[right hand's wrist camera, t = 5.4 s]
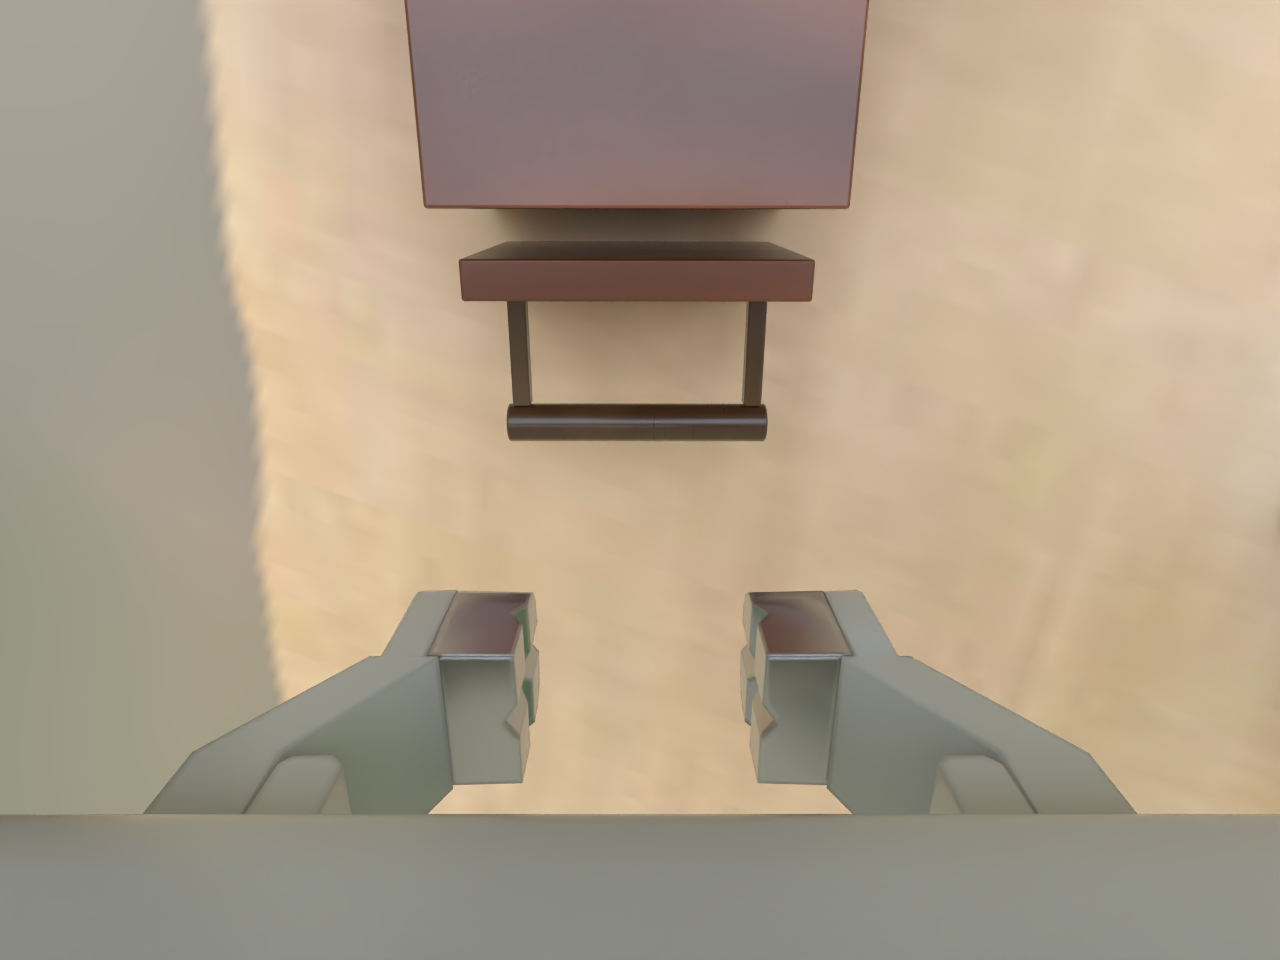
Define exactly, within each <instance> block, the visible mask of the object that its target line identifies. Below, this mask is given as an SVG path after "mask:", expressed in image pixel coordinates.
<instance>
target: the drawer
mask: <svg viewBox="0 0 1280 960" xmlns="http://www.w3.org/2000/svg"><path fill="white" fill-rule="evenodd" d="M814 268H815V261H814V260H812V259H810V258H807V257H805V256H802V255H800V254H797V253H795V252H792V251H790V250H787V249H785V248H782V247H780V246H777V245H774V244H772V243H769V242H505V243H502V244H499V245H497V246H494V247H492V248H489V249H486V250H484V251H481V252H478V253H476V254H473V255H471V256H468V257H465V258H463V259H460V260H459V270H460V283H461V295H462V300H463V301H507V309H508V326H509V342H510V359H511V375H512V392H513V404H509V406H508V411H507V432H508V437H509V440H511V441H764V440H765V438H766V434H767V409H766V406H765V404H761V395H762V379H763V362H764V346H765V329H766V312H767V301H780V302H809V301H811V300H812V293H813V280H814ZM528 301H747V309H746V329H745V348H744V368H743V388H742V402H743V404H531V403H532V401H533V399H532V380H531V360H530V340H529V320H528Z"/></svg>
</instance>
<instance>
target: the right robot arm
mask: <svg viewBox="0 0 1280 960" xmlns="http://www.w3.org/2000/svg"><path fill="white" fill-rule="evenodd" d="M536 625H537V614H536V601H535V597H534V593H533V592H493V591H459V592H458V591H457V590H439V591H421V592H418V593H417V594H416V595H415V597H414V599H413V601H412V602H411V604H410V606H409V608H408V609H407V611H406V613H405V615H404V617H403V618H402V620H401V622H400V624H399V625H398V627H397V629H396V631H395V632H394V634H393V636H392V638H391V640H390V641H389V643H388V645H387V647H386V648H385V650H384V652H383V654H382V655H381V656H369V657H367V658H366V659H364V660H362V661H360V662H358V663H356V664H354V665H353V666H351V667H349V668H347V669H345V670H343V671H342V672H340V673H338V674H336V675H334V676H332V677H330V678H329V679H327V680H325V681H323V682H321V683H319V684H318V685H316V686H314V687H312V688H310V689H308V690H306V691H305V692H303V693H301V694H299V695H297V696H295V697H293V698H292V699H290V700H288V701H286V702H284V703H282V704H281V705H279V706H277V707H275V708H273V709H271V710H269V711H268V712H266V713H264V714H262V715H260V716H258V717H256V718H255V719H253V720H251V721H249V722H247V723H245V724H244V725H242V726H240V727H238V728H236V729H234V730H232V731H231V732H229V733H227V734H225V735H223V736H221V737H219V738H218V739H216V740H214V741H212V742H210V743H208V744H207V745H205V746H203V747H201V748H199V749H197V750H195V751H194V752H192V753H191V754H190V756H189V757H188V758H187V759H186V761H185V762H184V763H183V764H182V766H181V767H180V768H179V769H178V771H177V772H176V773H175V774H174V776H173V777H172V778H171V779H170V781H169V782H168V783H167V784H166V785H165V787H164V788H163V789H162V790H161V792H160V793H159V794H158V795H157V797H156V798H155V799H154V800H153V802H152V803H151V804H150V805H149V807H148V808H147V809H146V810H145V812H144V813H143V814H0V960H1280V814H1137V813H1136V812H1135V810H1134V809H1133V808H1132V807H1131V805H1130V804H1129V803H1128V802H1127V800H1126V799H1125V798H1124V797H1123V795H1122V794H1121V793H1120V792H1119V790H1118V789H1117V788H1116V787H1115V785H1114V784H1113V783H1112V782H1111V780H1110V779H1109V778H1108V777H1107V775H1106V774H1105V773H1104V771H1103V770H1102V769H1101V768H1100V766H1099V765H1098V764H1097V763H1096V761H1095V760H1094V759H1093V758H1092V756H1091V755H1090V754H1089V753H1087V752H1086V751H1084V750H1082V749H1080V748H1078V747H1076V746H1075V745H1073V744H1071V743H1069V742H1067V741H1065V740H1064V739H1062V738H1060V737H1058V736H1056V735H1054V734H1052V733H1051V732H1049V731H1047V730H1045V729H1043V728H1041V727H1040V726H1038V725H1036V724H1034V723H1032V722H1030V721H1029V720H1027V719H1025V718H1023V717H1021V716H1019V715H1017V714H1016V713H1014V712H1012V711H1010V710H1008V709H1006V708H1005V707H1003V706H1001V705H999V704H997V703H995V702H994V701H992V700H990V699H988V698H986V697H984V696H982V695H981V694H979V693H977V692H975V691H973V690H971V689H970V688H968V687H966V686H964V685H962V684H960V683H958V682H957V681H955V680H953V679H951V678H949V677H947V676H946V675H944V674H942V673H940V672H938V671H936V670H935V669H933V668H931V667H929V666H927V665H925V664H923V663H922V662H920V661H918V660H916V659H914V658H912V657H911V656H898V654H897V652H896V651H895V649H894V647H893V645H892V644H891V642H890V640H889V638H888V637H887V635H886V633H885V631H884V630H883V628H882V626H881V624H880V623H879V621H878V619H877V617H876V616H875V614H874V612H873V610H872V609H871V607H870V605H869V603H868V602H867V600H866V598H865V596H864V595H863V593H862V592H860V591H858V590H844V591H792V592H751V593H747V594H746V595H745V601H744V611H743V626H744V630H745V634H746V639H747V643H748V644H747V645H746V646H745V647H744V648H743V649H742V651H741V670H740V678H741V699H742V708H743V713H744V719H745V722H746V723H747V724H749V725H750V726H751V730H750V749H751V754H752V759H753V763H754V768H755V773H756V778H757V782H758V783H772V784H809V785H827V789H828V790H829V791H830V792H831V793H832V794H833V795H834V796H835V797H836V798H837V799H838V800H839V801H840V802H841V803H842V804H843V805H844V806H845V807H846V808H847V809H848V810H849V811H850V812H851V813H852V814H428V813H429V812H430V811H431V810H432V809H433V808H434V807H435V806H436V805H437V804H438V803H439V802H440V801H441V800H442V799H443V798H444V797H445V796H446V795H447V794H448V793H449V792H450V791H451V790H452V789H453V786H452V785H470V784H506V783H522V782H523V778H524V773H525V768H526V763H527V758H528V753H529V749H530V733H529V726H530V725H531V724H532V723H534V722H535V718H536V713H537V707H538V696H539V671H540V667H539V651H538V650H537V648H536V647H535V646H534V645H533V644H532V643H533V638H534V634H535V630H536Z"/></svg>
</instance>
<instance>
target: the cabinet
mask: <svg viewBox="0 0 1280 960" xmlns="http://www.w3.org/2000/svg"><path fill="white" fill-rule="evenodd" d="M404 1H405V12H406V22H407V33H408V43H409V54H410V64H411V75H412V86H413V96H414V107H415V117H416V128H417V138H418V149H419V159H420V170H421V181H422V191H423V202H424V206H425V208H428V209H847V208H849V206H850V197H851V187H852V176H853V165H854V155H855V144H856V134H857V123H858V112H859V102H860V91H861V81H862V70H863V59H864V49H865V38H866V28H867V17H868V6H869V0H404Z"/></svg>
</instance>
